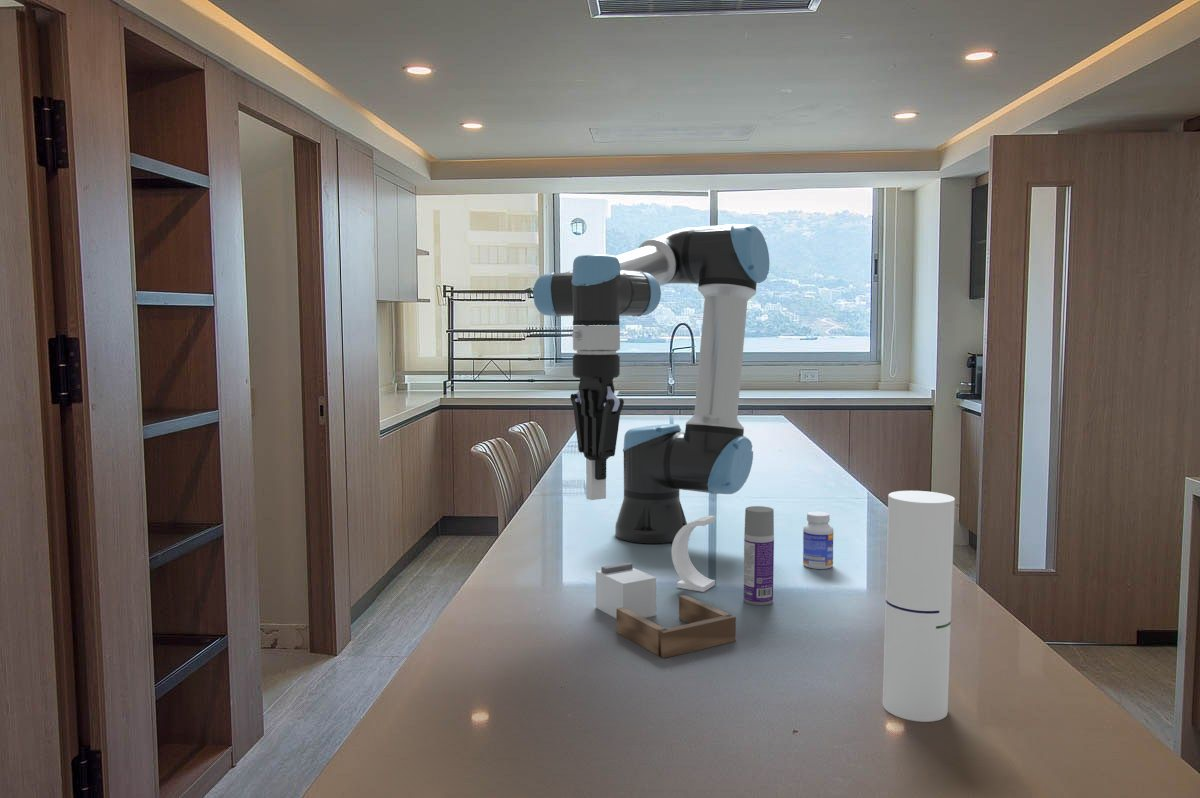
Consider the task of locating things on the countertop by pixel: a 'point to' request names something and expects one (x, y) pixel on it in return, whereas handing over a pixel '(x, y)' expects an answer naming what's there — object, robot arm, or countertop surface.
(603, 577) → the matte white cube
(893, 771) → the countertop surface
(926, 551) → the cylindrical container
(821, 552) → the pill bottle
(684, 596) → the bay
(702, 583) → the headphone stand
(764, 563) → the container
